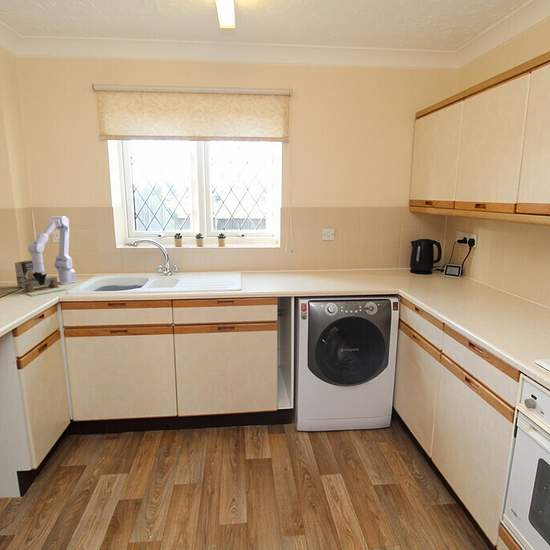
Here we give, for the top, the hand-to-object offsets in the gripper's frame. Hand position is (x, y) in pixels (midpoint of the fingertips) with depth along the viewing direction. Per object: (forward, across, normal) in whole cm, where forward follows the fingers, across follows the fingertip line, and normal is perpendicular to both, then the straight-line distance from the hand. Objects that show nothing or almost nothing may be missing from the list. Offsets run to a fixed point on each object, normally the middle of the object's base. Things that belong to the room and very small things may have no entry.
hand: (40, 284), depth 246 cm
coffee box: (+3, -17, -2) cm, 17 cm away
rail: (0, 0, 0) cm, 0 cm away
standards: (+3, 0, 0) cm, 3 cm away
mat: (+3, +9, 0) cm, 10 cm away
